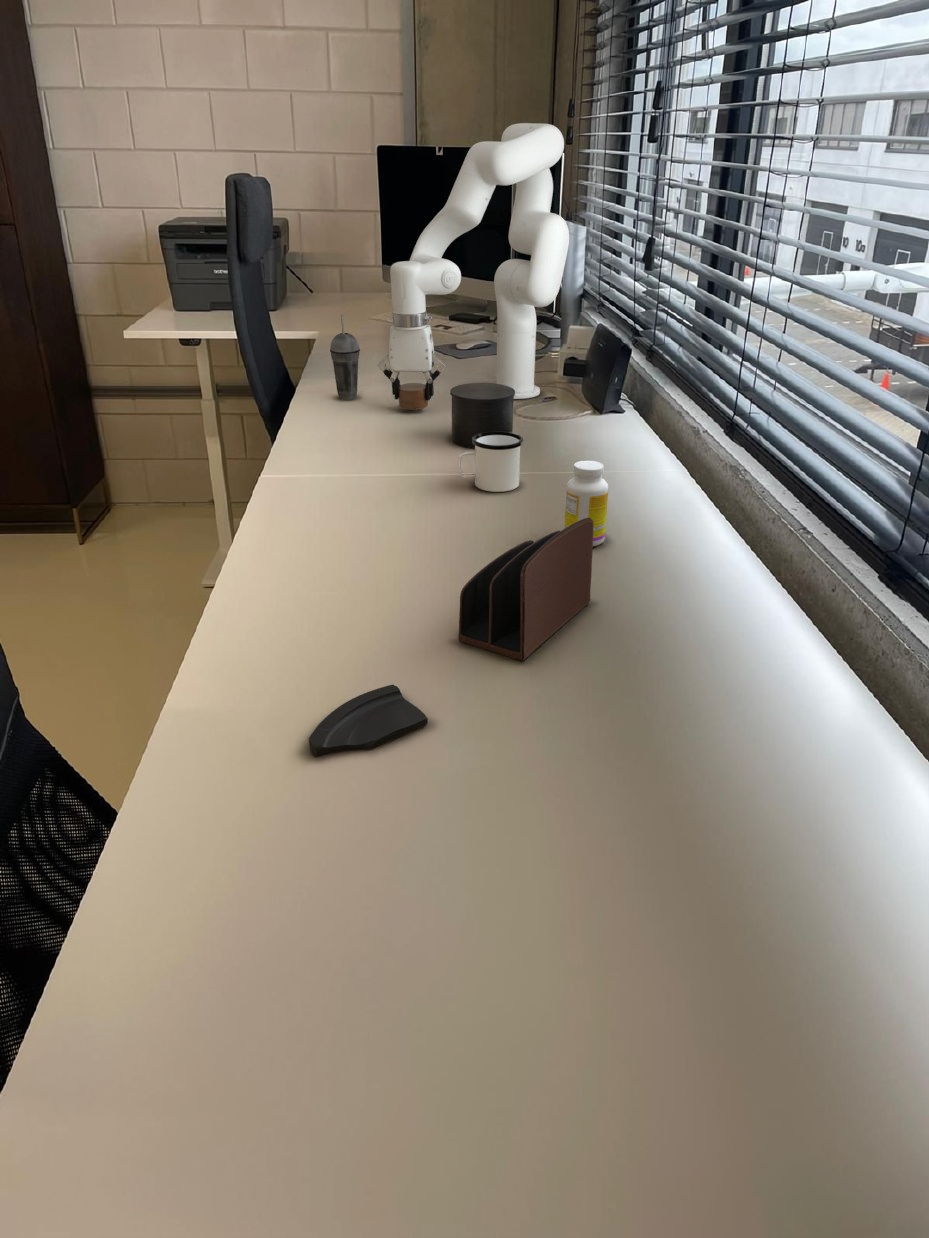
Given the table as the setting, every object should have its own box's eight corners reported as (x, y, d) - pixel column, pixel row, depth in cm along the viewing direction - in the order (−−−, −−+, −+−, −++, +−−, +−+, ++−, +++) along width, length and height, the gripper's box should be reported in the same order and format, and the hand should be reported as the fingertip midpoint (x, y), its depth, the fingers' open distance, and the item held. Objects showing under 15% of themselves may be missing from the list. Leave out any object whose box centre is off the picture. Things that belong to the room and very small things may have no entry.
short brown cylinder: (402, 400, 226) (401, 382, 224) (430, 401, 225) (430, 383, 223) (396, 409, 220) (395, 390, 218) (424, 410, 219) (423, 391, 217)
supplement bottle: (608, 535, 157) (614, 460, 151) (600, 550, 151) (606, 473, 145) (568, 530, 158) (573, 456, 152) (559, 545, 153) (563, 469, 147)
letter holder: (590, 603, 135) (597, 510, 128) (523, 663, 120) (527, 561, 113) (529, 586, 139) (532, 496, 133) (457, 642, 124) (457, 544, 118)
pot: (456, 429, 210) (456, 381, 205) (517, 432, 208) (518, 384, 203) (444, 447, 198) (444, 397, 193) (509, 451, 196) (510, 400, 191)
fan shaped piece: (289, 731, 106) (288, 719, 106) (392, 694, 113) (392, 682, 112) (325, 768, 100) (323, 755, 100) (431, 726, 107) (431, 714, 106)
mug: (515, 475, 183) (516, 429, 179) (527, 492, 175) (529, 444, 170) (454, 479, 181) (454, 433, 176) (464, 496, 172) (464, 448, 168)
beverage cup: (365, 394, 236) (361, 311, 227) (359, 402, 230) (355, 317, 220) (336, 393, 237) (331, 311, 227) (329, 401, 230) (324, 316, 221)
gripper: (450, 317, 215) (452, 395, 223) (376, 316, 218) (381, 393, 226) (444, 324, 208) (446, 404, 217) (367, 323, 211) (373, 401, 220)
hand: (413, 397), depth 221 cm, fingers closed on short brown cylinder, 6 cm apart
